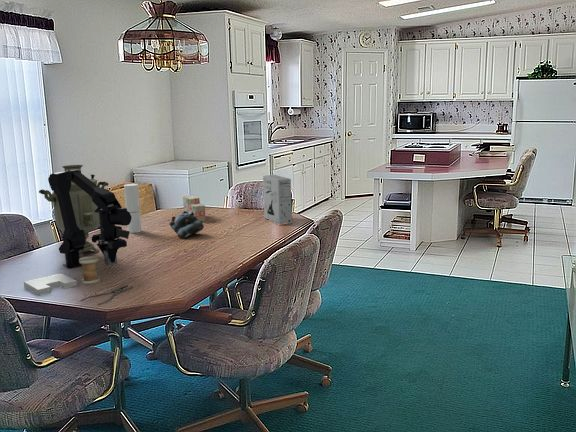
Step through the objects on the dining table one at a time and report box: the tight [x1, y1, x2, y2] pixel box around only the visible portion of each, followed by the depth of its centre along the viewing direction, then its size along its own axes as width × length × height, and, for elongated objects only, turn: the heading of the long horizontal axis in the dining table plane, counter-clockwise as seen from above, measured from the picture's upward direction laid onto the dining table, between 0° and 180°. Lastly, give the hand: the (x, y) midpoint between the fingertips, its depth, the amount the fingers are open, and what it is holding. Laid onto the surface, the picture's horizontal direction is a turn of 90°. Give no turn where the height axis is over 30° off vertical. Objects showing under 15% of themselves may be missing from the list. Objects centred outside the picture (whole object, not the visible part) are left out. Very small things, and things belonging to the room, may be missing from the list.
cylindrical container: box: [123, 183, 142, 234], centre depth 299 cm, size 7×7×25 cm
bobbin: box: [79, 255, 101, 285], centre depth 215 cm, size 7×7×9 cm
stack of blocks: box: [182, 195, 206, 223], centre depth 331 cm, size 21×6×12 cm, turn 28°
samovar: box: [38, 164, 109, 255], centre depth 254 cm, size 30×26×40 cm
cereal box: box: [262, 174, 293, 225], centre depth 317 cm, size 22×8×25 cm, turn 25°
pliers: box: [80, 284, 134, 306], centre depth 201 cm, size 10×1×20 cm
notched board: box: [23, 272, 78, 296], centre depth 212 cm, size 14×14×2 cm
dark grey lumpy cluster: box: [169, 210, 205, 240], centre depth 288 cm, size 15×12×14 cm
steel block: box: [103, 250, 118, 266], centre depth 228 cm, size 4×4×6 cm
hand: (110, 261), depth 229 cm, fingers closed on steel block, 4 cm apart
